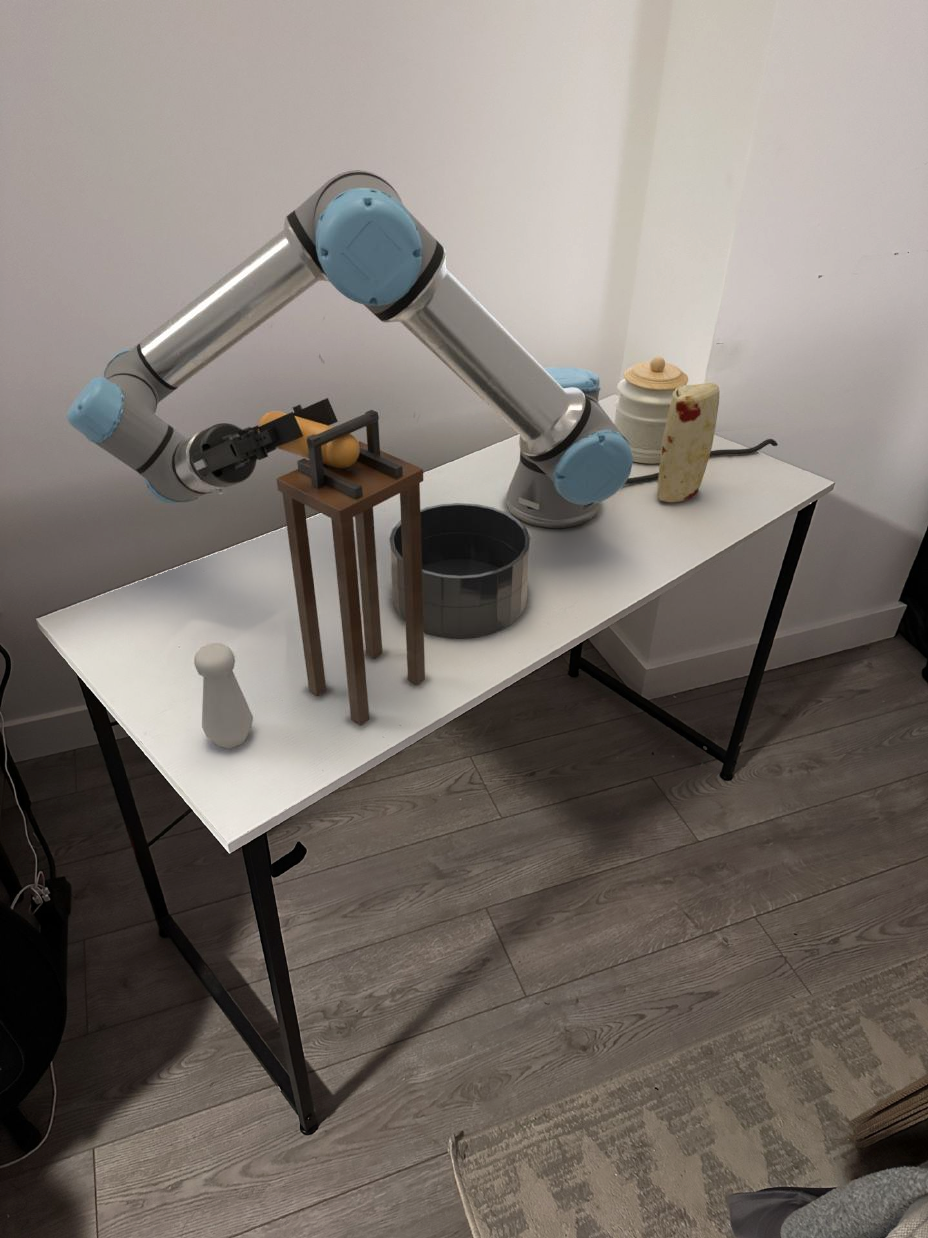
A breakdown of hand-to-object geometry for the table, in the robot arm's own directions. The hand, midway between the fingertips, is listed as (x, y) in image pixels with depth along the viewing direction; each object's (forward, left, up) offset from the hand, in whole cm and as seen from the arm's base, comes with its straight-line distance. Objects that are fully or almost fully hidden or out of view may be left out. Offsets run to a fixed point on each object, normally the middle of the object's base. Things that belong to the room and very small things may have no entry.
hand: (312, 417), depth 94 cm
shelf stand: (-3, +4, -35) cm, 35 cm away
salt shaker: (+13, +11, -35) cm, 39 cm away
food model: (-59, -37, -35) cm, 78 cm away
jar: (-59, -55, -35) cm, 88 cm away
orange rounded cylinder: (+1, -1, -5) cm, 5 cm away
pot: (-18, -13, -35) cm, 41 cm away
